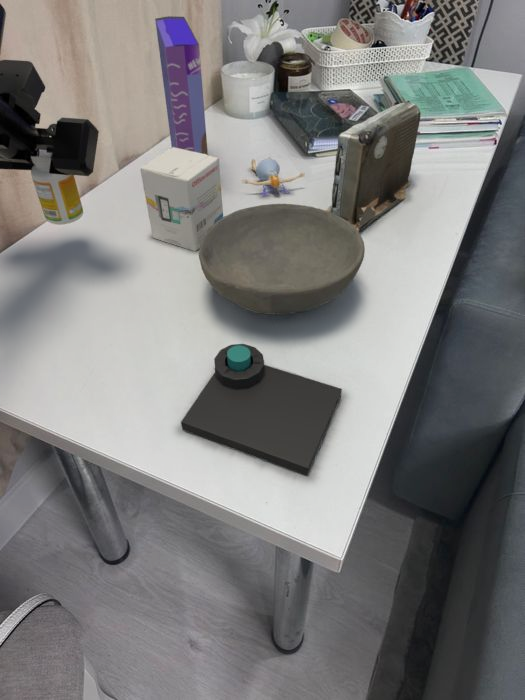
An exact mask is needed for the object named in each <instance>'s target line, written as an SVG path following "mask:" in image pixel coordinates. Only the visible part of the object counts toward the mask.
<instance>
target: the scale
mask: <svg viewBox="0 0 525 700" xmlns="http://www.w3.org/2000/svg"><path fill="white" fill-rule="evenodd" d="M237 345H241V346H245V347H247V348H248V349H249V350H250V352H251V365H250V367H249V368H248V369H246V370H244V371H234V370H232V369H230V368H229V366H228V361H227V352H228V350H229V349H230V348H231V347H233V346H237ZM213 360H214V361H213V362H214V372H213V374H212V376H211V377H210V379H209V380H208V382H207V383H206V384H205V386H204V388H203V389H202V390H201V392H200V393H199V395H198V396H197V398H196V399H195V401H194V402H193V404H192V405H191V407H190V408H189V409H188V410H187V412H186V414H185V416H183V418H182V419H181V421H180V424H181V429H182V431H184V432H187V433H190V434H192V435H195V436H197V437H200V438H203V439H206V440H209V441H211V442H214V443H217V444H219V445H222V446H224V447H228V448H230V449H233V450H235V451H239V452H241V453H244V454H246V455H249V456H252V457H255V458H258V459H260V460H263V461H265V462H268V463H270V464H274V465H276V466H279V467H282V468H284V469H287V470H290V471H292V472H295V473H298V474H301V475H304V476H305V477H307V476H309V472H310V471H311V468H312V465H313V464H314V461H315V460H316V459H315V458H316V456H317V454H318V452H319V449H320V447H321V445H322V442H323V440H324V438H325V435H326V433H327V430H328V428H329V426H330V423H331V421H332V418H333V416H334V414H335V411H336V409H337V407H338V405H339V402H340V399H341V397H342V392H343V388H342V387H341V388H340V387H338V386H334V385H331V384H328V383H325V382H321V381H318V380H315V379H313V378H312V379H311V378H308V377H305V376H302V375H299V374H295V373H292V372H289V371H285V370H282V369H279V368H277V367H273V366H269V365H266V364H265V358H264V354H263V353H262V352H261V351H260V350H259V349H258V348H257V347H255V346H253V345H250V344H249V345H248V344H245V343H235V344H229V345H227V346H225V347H223V348H221V349H220V350H219V351H218V353H217V354H216V355H215V357H214V358H213Z"/></svg>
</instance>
